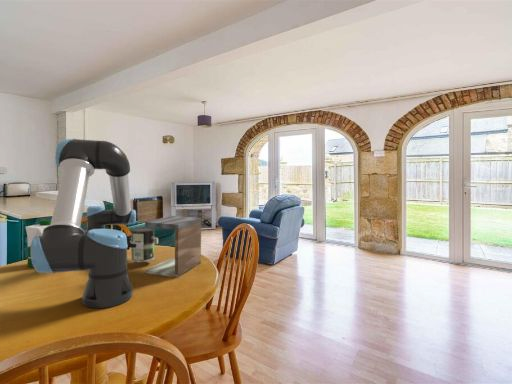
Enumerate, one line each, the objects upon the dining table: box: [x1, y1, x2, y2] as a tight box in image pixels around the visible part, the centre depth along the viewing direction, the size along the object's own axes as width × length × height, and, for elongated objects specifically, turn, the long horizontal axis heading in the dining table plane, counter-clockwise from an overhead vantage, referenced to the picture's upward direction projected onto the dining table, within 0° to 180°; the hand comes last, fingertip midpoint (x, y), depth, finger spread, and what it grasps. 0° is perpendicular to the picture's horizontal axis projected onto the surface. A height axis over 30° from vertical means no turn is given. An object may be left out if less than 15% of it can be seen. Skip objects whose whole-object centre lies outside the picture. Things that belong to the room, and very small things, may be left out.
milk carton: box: [25, 219, 51, 268], centre depth 127 cm, size 9×9×20 cm
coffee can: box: [130, 226, 155, 263], centre depth 132 cm, size 10×10×14 cm
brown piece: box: [144, 215, 202, 278], centre depth 128 cm, size 16×20×22 cm
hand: (150, 243), depth 131 cm, fingers closed on coffee can, 10 cm apart
